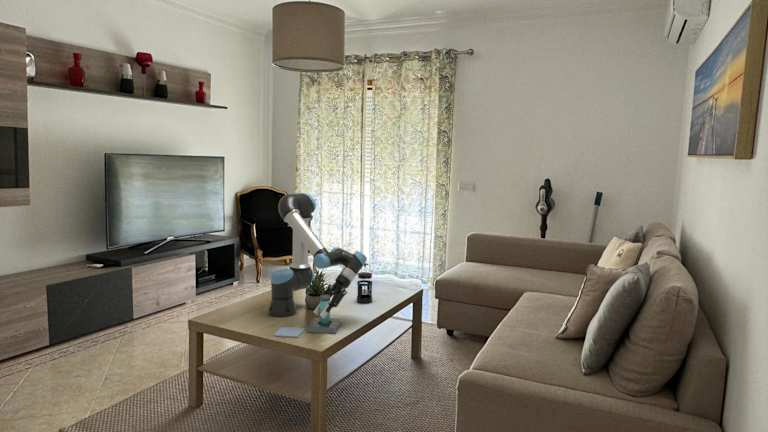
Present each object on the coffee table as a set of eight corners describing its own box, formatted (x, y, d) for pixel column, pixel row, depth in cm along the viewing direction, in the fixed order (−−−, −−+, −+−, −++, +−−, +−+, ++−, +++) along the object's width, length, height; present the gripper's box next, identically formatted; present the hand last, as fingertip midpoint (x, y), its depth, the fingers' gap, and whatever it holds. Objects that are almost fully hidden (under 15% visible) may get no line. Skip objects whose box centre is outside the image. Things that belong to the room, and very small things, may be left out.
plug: (318, 326, 264) (318, 297, 262) (321, 323, 269) (321, 294, 267) (328, 327, 264) (328, 297, 262) (330, 324, 268) (331, 295, 267)
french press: (362, 298, 323) (363, 261, 320) (375, 300, 318) (376, 263, 315) (352, 303, 312) (352, 264, 310) (365, 305, 308) (366, 266, 305)
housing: (307, 332, 261) (307, 326, 260) (314, 323, 274) (314, 317, 274) (335, 333, 259) (335, 327, 258) (341, 324, 272) (341, 319, 272)
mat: (273, 336, 254) (273, 334, 253) (281, 328, 265) (281, 326, 265) (298, 338, 252) (298, 336, 252) (305, 329, 264) (305, 328, 264)
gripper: (360, 285, 268) (333, 324, 259) (338, 279, 281) (312, 315, 272) (352, 277, 263) (325, 315, 254) (330, 270, 277) (303, 307, 268)
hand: (318, 315), depth 263 cm, fingers closed on plug, 5 cm apart
